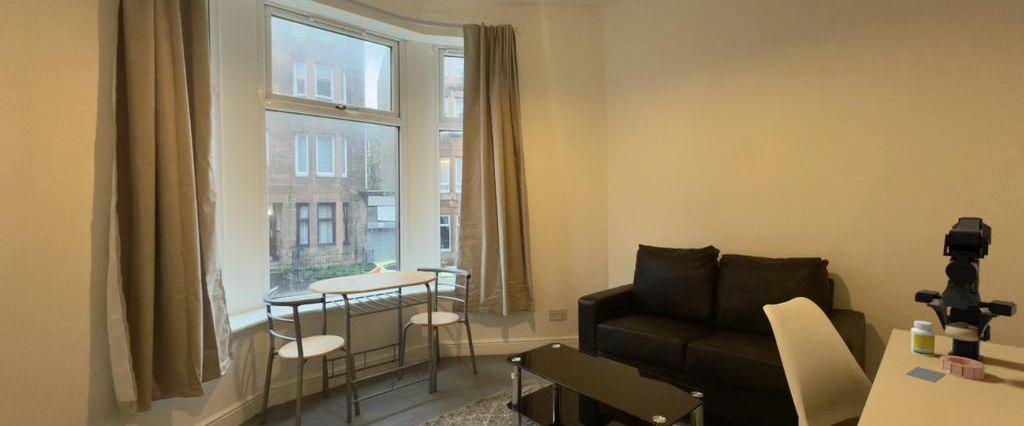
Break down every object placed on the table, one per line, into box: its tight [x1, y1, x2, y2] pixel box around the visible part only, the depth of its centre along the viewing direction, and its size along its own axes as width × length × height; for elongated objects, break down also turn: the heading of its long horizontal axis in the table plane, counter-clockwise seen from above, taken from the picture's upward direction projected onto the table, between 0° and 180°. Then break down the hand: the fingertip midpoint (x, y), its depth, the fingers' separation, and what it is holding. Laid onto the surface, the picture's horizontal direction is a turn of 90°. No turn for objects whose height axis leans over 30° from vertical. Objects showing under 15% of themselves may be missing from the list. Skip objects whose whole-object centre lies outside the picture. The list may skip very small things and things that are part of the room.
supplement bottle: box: [909, 320, 936, 357], centre depth 135 cm, size 5×5×10 cm
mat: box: [905, 366, 947, 383], centre depth 120 cm, size 9×6×1 cm, turn 122°
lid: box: [944, 322, 979, 341], centre depth 120 cm, size 6×6×4 cm
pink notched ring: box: [939, 355, 986, 380], centre depth 121 cm, size 8×8×4 cm
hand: (961, 333), depth 120 cm, fingers closed on lid, 6 cm apart
